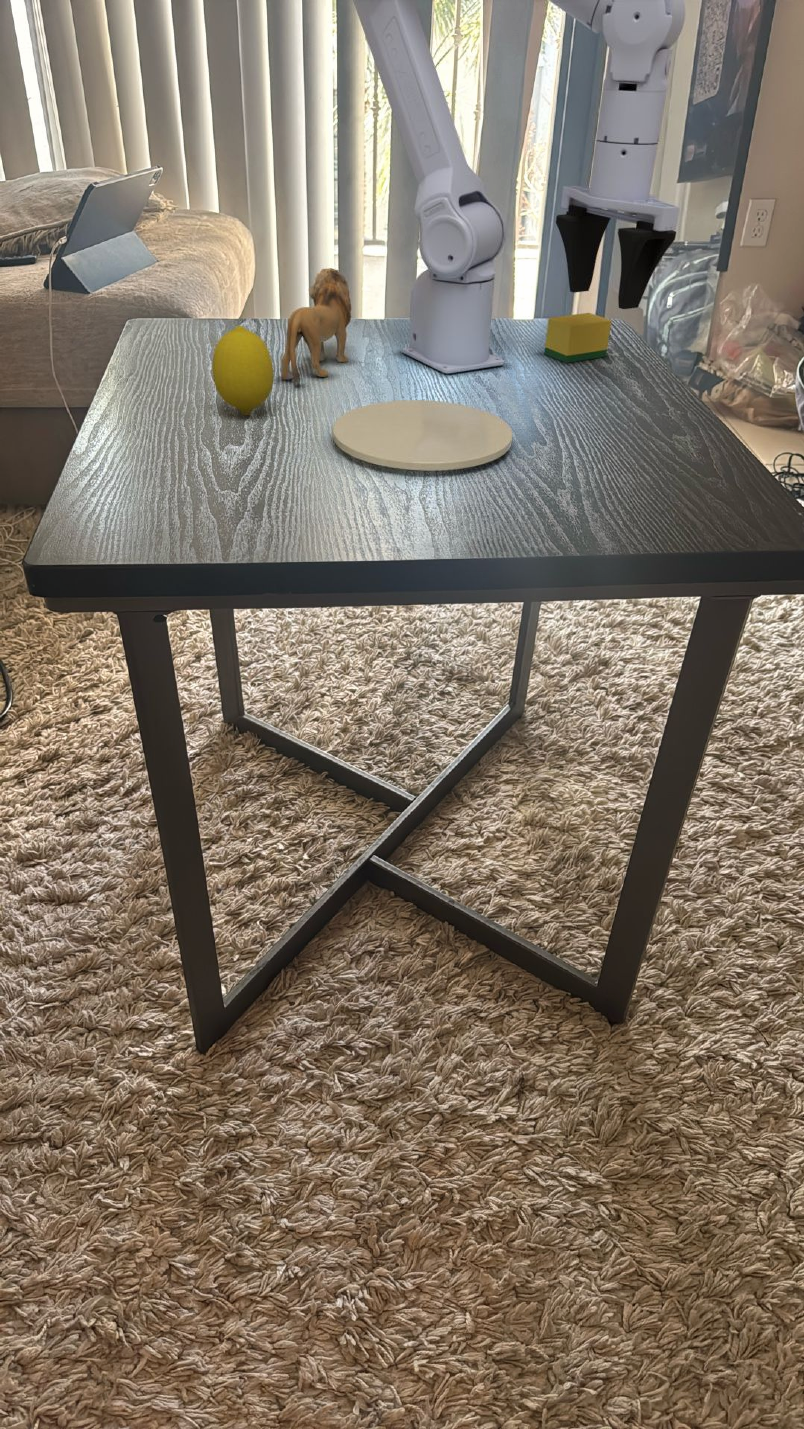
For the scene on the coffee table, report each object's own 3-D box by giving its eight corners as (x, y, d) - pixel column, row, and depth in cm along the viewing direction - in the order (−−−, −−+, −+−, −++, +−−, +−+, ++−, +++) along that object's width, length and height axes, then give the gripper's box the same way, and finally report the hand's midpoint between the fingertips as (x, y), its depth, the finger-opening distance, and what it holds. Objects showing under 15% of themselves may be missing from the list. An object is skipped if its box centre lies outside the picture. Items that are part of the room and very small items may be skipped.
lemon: (234, 402, 89) (226, 315, 85) (285, 410, 88) (280, 322, 83) (206, 419, 85) (196, 329, 80) (259, 428, 84) (253, 336, 79)
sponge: (544, 354, 106) (548, 317, 104) (583, 348, 108) (588, 312, 106) (565, 363, 103) (570, 326, 101) (606, 356, 106) (611, 320, 103)
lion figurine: (313, 348, 105) (311, 263, 100) (358, 352, 105) (358, 266, 99) (273, 386, 94) (268, 291, 88) (323, 390, 93) (321, 296, 88)
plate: (302, 429, 84) (301, 415, 83) (447, 404, 91) (448, 391, 90) (390, 491, 73) (390, 475, 72) (547, 457, 80) (549, 443, 79)
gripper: (715, 148, 81) (683, 311, 89) (608, 133, 91) (587, 281, 99) (656, 150, 78) (628, 318, 86) (552, 134, 88) (535, 286, 96)
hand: (603, 299), depth 92 cm, fingers open, 7 cm apart
